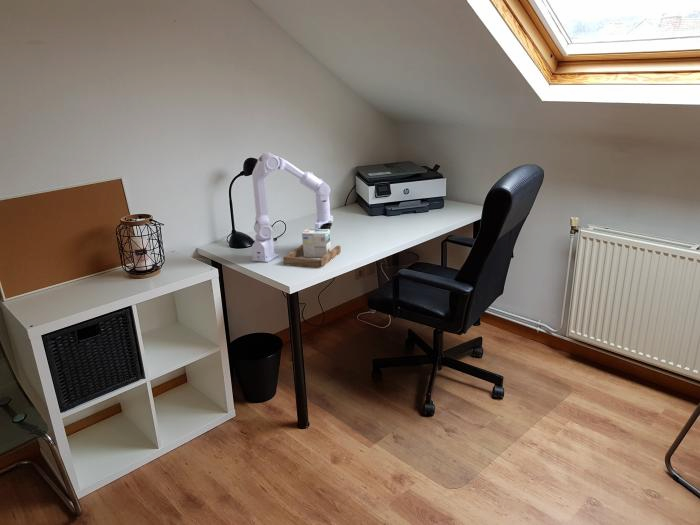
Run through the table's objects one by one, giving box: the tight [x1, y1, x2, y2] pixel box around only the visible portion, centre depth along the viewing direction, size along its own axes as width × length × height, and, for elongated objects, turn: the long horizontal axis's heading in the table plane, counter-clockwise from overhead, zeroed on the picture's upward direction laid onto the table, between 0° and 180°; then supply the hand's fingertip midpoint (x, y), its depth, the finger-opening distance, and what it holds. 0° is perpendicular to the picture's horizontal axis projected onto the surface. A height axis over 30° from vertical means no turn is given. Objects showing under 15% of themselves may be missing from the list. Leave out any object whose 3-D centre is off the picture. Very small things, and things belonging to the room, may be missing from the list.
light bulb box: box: [301, 228, 332, 258], centre depth 245 cm, size 11×7×11 cm, turn 77°
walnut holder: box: [282, 243, 342, 268], centre depth 243 cm, size 20×17×3 cm
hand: (325, 239), depth 253 cm, fingers closed
